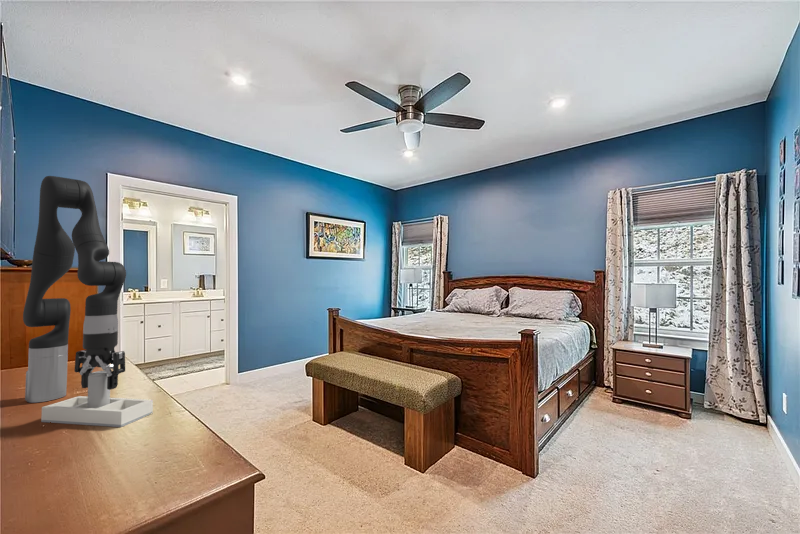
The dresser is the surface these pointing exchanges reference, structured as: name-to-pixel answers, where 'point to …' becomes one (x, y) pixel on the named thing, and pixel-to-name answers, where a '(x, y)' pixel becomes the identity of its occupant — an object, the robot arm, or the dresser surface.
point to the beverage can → (98, 390)
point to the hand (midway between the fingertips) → (99, 388)
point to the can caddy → (97, 412)
